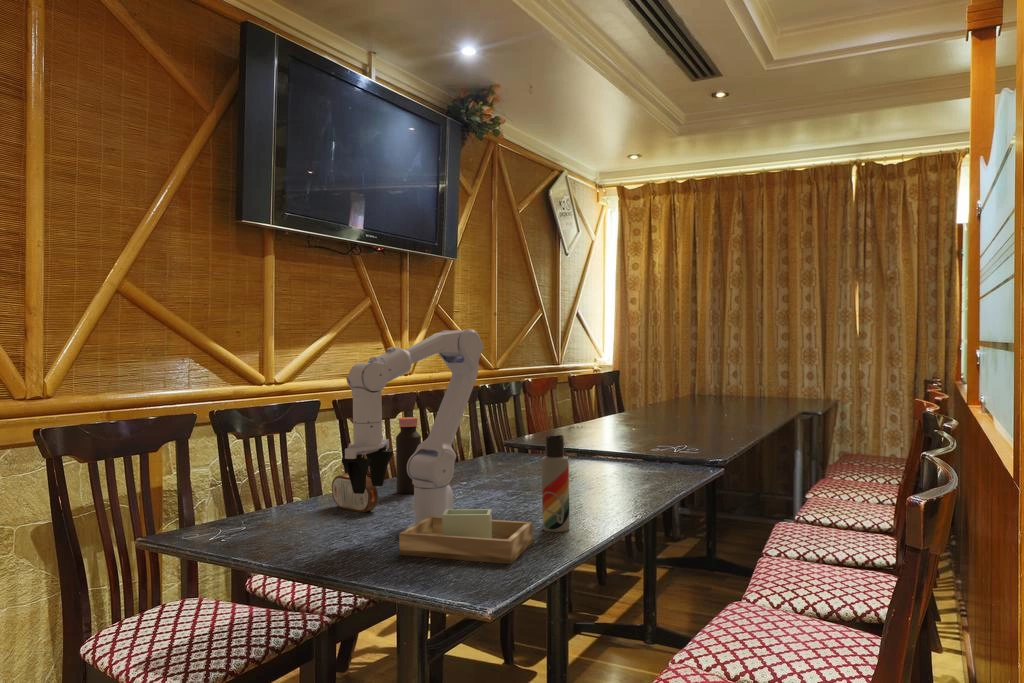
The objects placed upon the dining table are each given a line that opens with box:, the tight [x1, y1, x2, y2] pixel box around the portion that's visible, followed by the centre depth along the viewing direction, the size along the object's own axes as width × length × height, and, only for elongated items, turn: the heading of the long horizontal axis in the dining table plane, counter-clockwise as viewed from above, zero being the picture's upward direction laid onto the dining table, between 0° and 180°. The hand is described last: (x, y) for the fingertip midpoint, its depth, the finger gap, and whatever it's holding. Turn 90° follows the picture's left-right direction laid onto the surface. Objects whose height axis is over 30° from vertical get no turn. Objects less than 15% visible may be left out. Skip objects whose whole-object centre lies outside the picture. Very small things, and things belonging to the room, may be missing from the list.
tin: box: [331, 472, 379, 513], centre depth 168 cm, size 15×3×8 cm, turn 51°
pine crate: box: [398, 516, 534, 565], centre depth 134 cm, size 14×22×4 cm, turn 72°
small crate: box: [442, 508, 493, 538], centre depth 134 cm, size 5×9×6 cm, turn 87°
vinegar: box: [395, 416, 422, 495], centre depth 188 cm, size 7×7×20 cm
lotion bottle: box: [541, 434, 571, 533], centre depth 147 cm, size 6×6×20 cm
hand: (368, 489), depth 140 cm, fingers open, 7 cm apart
